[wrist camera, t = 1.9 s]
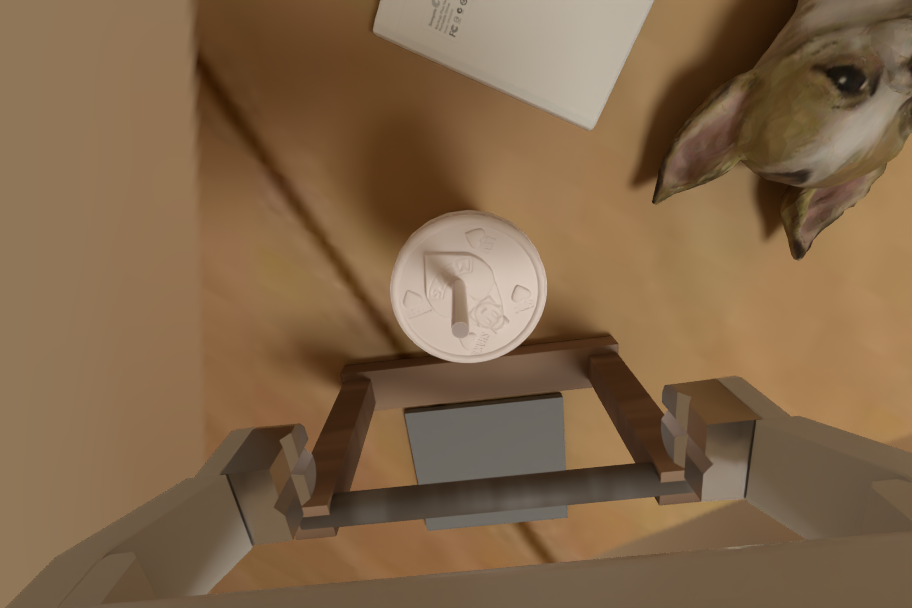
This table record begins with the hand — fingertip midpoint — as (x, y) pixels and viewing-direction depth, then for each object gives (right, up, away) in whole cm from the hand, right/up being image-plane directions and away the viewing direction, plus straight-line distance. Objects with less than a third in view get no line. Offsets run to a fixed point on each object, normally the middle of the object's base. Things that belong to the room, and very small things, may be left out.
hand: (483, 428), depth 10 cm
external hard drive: (+2, +18, +13) cm, 23 cm away
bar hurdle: (+1, -2, +20) cm, 20 cm away
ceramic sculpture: (+17, +14, +14) cm, 26 cm away
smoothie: (0, +7, +17) cm, 18 cm away
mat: (+2, -9, +22) cm, 24 cm away
